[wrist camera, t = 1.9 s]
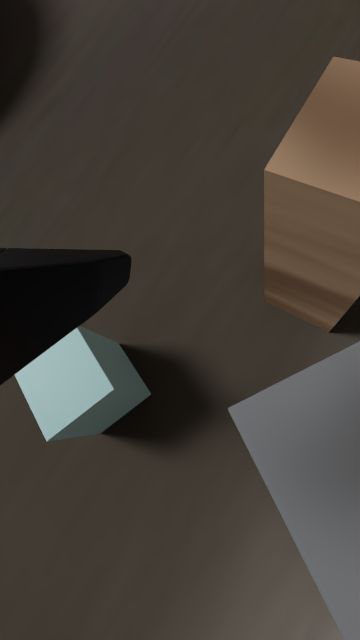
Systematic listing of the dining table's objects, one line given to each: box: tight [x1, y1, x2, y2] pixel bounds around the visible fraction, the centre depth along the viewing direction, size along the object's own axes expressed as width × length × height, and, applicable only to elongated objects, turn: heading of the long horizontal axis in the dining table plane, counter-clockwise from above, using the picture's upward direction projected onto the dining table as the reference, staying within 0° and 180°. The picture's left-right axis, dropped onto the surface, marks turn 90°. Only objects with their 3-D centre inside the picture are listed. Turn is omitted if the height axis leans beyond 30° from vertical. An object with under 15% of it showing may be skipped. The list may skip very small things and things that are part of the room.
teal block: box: [15, 326, 151, 441], centre depth 21 cm, size 4×4×6 cm
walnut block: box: [264, 57, 360, 332], centre depth 16 cm, size 4×4×13 cm
